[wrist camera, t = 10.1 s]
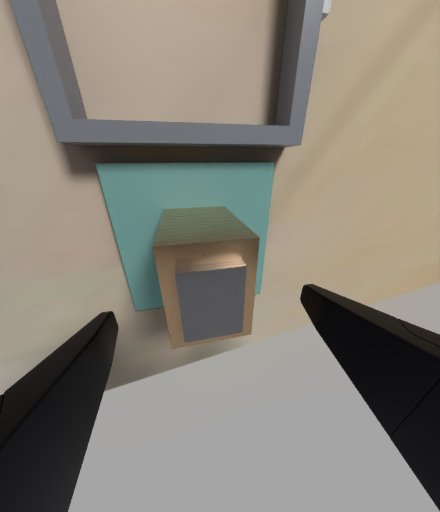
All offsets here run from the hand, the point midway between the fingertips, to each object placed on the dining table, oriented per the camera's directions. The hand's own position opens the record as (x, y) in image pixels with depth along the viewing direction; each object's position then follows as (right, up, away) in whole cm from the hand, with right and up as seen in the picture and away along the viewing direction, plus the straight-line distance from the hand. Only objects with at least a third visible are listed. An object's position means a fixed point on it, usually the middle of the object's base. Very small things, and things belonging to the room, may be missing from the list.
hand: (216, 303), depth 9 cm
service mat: (-2, +3, +7) cm, 8 cm away
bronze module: (-2, +3, +6) cm, 7 cm away
